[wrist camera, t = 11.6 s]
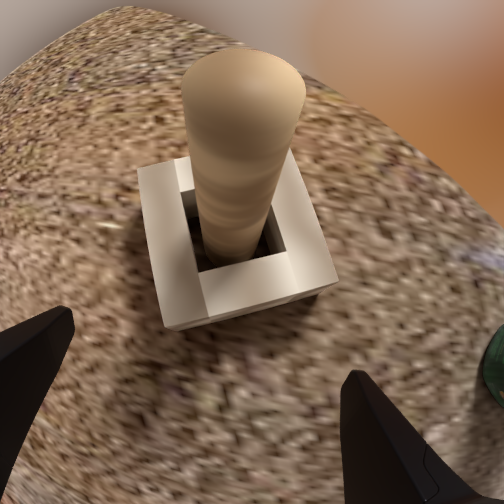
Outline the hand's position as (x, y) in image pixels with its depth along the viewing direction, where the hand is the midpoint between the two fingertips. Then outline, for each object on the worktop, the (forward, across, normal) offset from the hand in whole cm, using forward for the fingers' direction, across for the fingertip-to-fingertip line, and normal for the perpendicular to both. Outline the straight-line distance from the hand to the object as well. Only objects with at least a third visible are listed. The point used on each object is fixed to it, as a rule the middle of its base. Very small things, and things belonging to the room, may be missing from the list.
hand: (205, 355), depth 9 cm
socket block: (+15, 0, +4) cm, 16 cm away
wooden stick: (+15, 0, +4) cm, 16 cm away
